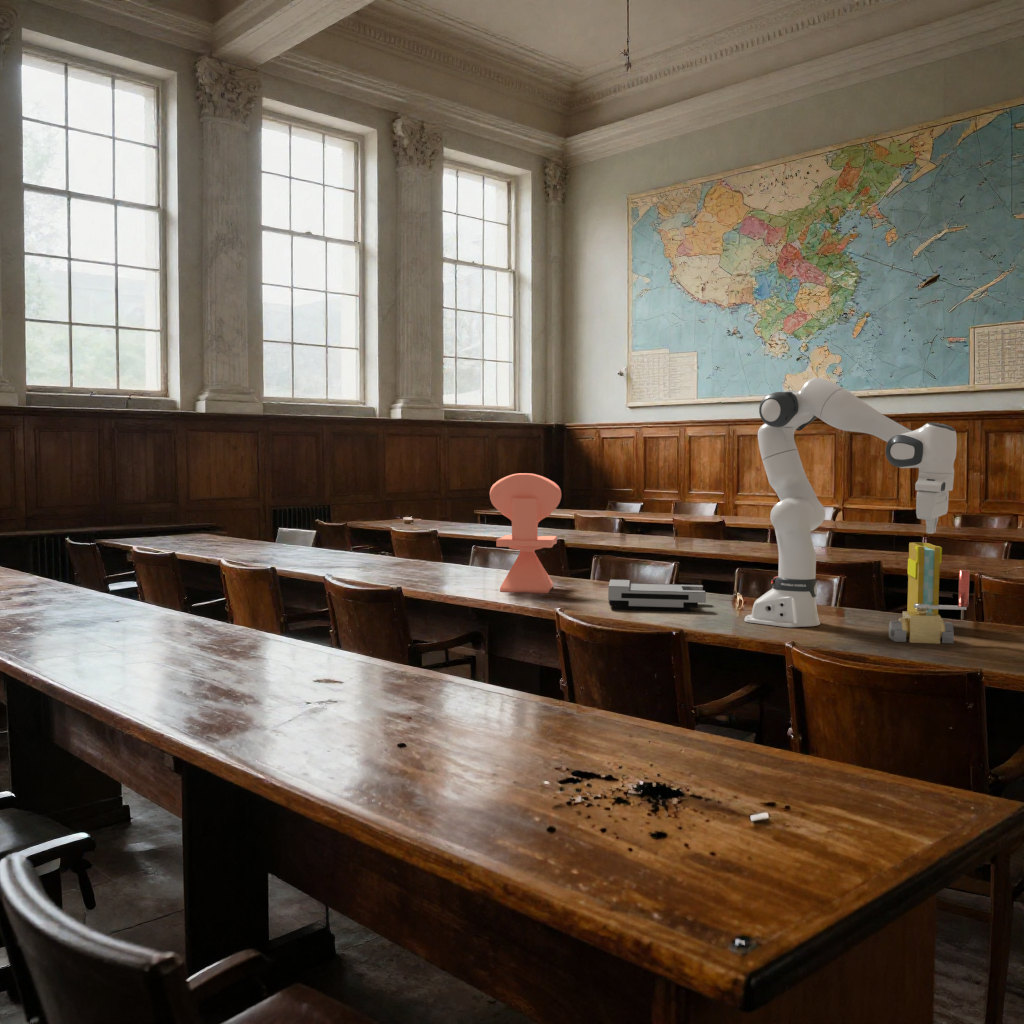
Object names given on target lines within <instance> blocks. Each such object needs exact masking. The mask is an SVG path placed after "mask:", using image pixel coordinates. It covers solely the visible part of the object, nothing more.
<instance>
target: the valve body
mask: <svg viewBox="0 0 1024 1024" xmlns="http://www.w3.org/2000/svg"><path fill="white" fill-rule="evenodd" d="M939 615H940V614H938V615H937V614H935V613H933V612H926V610H920V609H917V612H908V611H907V610H905V611H904V610H903V611H902V617H899V618H898V620H890V621H889V625H888V639H890V640H891V641H892V642H896V643H897V642H899V643H901V642H902V643H906V642H908V643H911V644H912V643H913V644H938V645H940V644H954V640H955V636H954V635H955V633H954V632H955V631H954V624H953V622H951V621H944V619H943V618H942V617H941V615H940V616H939Z"/></svg>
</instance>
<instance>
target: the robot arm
mask: <svg viewBox="0 0 1024 1024" xmlns="http://www.w3.org/2000/svg"><path fill="white" fill-rule="evenodd" d="M758 410H759V411H758V413H759V417H760V419H761V420H762V422H763V424H762V425H761V426H760V427H759V428H758V431H757V442H758V449H759V453H760V457H761V460H762V463H763V467H764V471H765V473H766V477H767V480H768V484H769V486H771V488H772V489H773V491H774V492H775V493H776V495H777V498H778V499H779V501H778V502H777V503H775V504H774V505H773V507H772V509H771V510H770V514H769V518H770V522H771V525H772V526H773V527H774V532H775V533H774V534H775V536H776V537H775V538H776V545H777V550H778V551H777V552H778V569H777V570H778V573H777V574H778V575H777V576H774V577H773V578H772V579H771V580H770V585H771V588H770V589H769V590H768V591H766V592H765V593H764V594H762V595H761V596H760V597H758V598H757V599H756V600H755V601H754V603H753V606H752V609H751V614H747V615H745V617H744V622H746V623H752V624H760V625H767V626H775V627H776V626H777V627H784V628H800V627H804V628H805V627H815V626H819V625H820V624H821V622H820V618H819V614H818V608H817V598H816V597H817V596H818V579H817V577H816V576H817V575H816V574H817V571H816V570H817V552H816V550H815V547H814V545H813V544H814V543H813V540H812V539H813V538H812V531H814V530H817V528H819V527H820V526H821V525H822V524H823V522H824V520H825V518H826V510H825V507H824V506H823V504H822V503H821V502H820V500H819V498H818V496H817V494H816V492H815V491H814V489H813V487H812V484H811V482H810V481H809V479H808V477H807V475H806V472H805V468H804V465H803V463H802V460H801V457H800V453H799V450H798V447H797V444H796V441H795V432H796V431H799V432H800V431H803V429H805V428H806V427H807V426H808V425H809V424H811V423H813V422H814V421H815V420H816V419H817V418H818V419H819V420H820V421H822V422H824V423H825V424H827V425H828V426H830V427H833V428H836V429H838V430H841V431H844V432H845V431H846V432H853V433H862V434H868V435H872V436H875V437H876V438H878V439H880V440H881V441H884V442H885V443H886V445H885V448H884V449H885V450H884V452H885V458H886V460H887V462H888V463H889V464H890V465H892V466H893V467H897V468H900V469H918V478H917V480H916V482H915V484H914V485H915V486H914V487H915V489H914V490H915V491H917V492H916V500H915V502H916V505H915V507H916V510H915V514H916V518H917V519H919V520H925V525H926V527H925V528H926V530H925V533H926V534H930V535H933V534H935V533H936V532H937V530H936V529H937V526H938V522H939V517H942V516H944V515H947V514H948V511H949V498H950V497H949V495H950V494H949V493H950V491H951V492H953V490H954V479H955V468H954V464H955V460H956V458H957V448H958V447H957V446H958V443H957V442H958V439H957V432H956V429H955V428H954V427H952V426H951V425H949V424H945V423H941V422H927V423H925V424H923V426H921V427H919V428H916V429H915V430H913V429H911V428H909V427H907V426H905V425H903V424H901V423H900V422H898V421H896V420H895V419H892V418H890V417H888V416H887V415H885V414H883V413H881V412H879V411H878V410H877V409H875V408H874V407H873V406H871V405H869V404H868V403H867V402H865V401H863V399H861V398H859V397H858V396H857V395H855V394H854V393H852V392H851V391H849V390H848V389H846V388H844V387H842V386H840V385H839V384H836V383H835V382H832V381H830V380H827V379H824V378H823V377H813V378H810V379H809V380H807V381H806V382H805V383H804V384H803V385H802V387H801V389H800V390H793V389H792V390H791V389H789V390H784V391H775V392H772V393H770V394H768V395H766V396H765V397H764V398H763V399H762V400H761V401H760V404H759V407H758Z"/></svg>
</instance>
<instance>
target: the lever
mask: <svg viewBox="0 0 1024 1024" xmlns="http://www.w3.org/2000/svg"><path fill="white" fill-rule="evenodd" d="M970 572H971V571H970V570H965V569H960V570H959V571H958V596H957V597H958V598H957V599H958V600H957V601H958V602H957V605H952V604H951V605H950V604H949V605H948V604H938V605H929V604H923V603H915V604H914V609H920V610H929V609H938V610H956V611H959V610H961V611H967V608H969V605H970V604H969V598H970V597H969V595H970V574H971V573H970Z"/></svg>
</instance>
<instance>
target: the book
mask: <svg viewBox="0 0 1024 1024" xmlns="http://www.w3.org/2000/svg"><path fill="white" fill-rule="evenodd" d="M908 543H909V544H908V558H907V579H908V580H907V607H906V608H907V610H906V611H908V612H917V609H914V604H915V603H923V604H929V605H939V601H940V600H939V597H940V594H939V593H940V567H941V566H940V565H941V564H942V559H943V558H942V556H943V555H942V553H943V547H941V546H939V545H934V544H932V543H929V542H908ZM926 612H933V613H935V614H937V615H939V616H941V615H940V614H939V609H929V610H926Z"/></svg>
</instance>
